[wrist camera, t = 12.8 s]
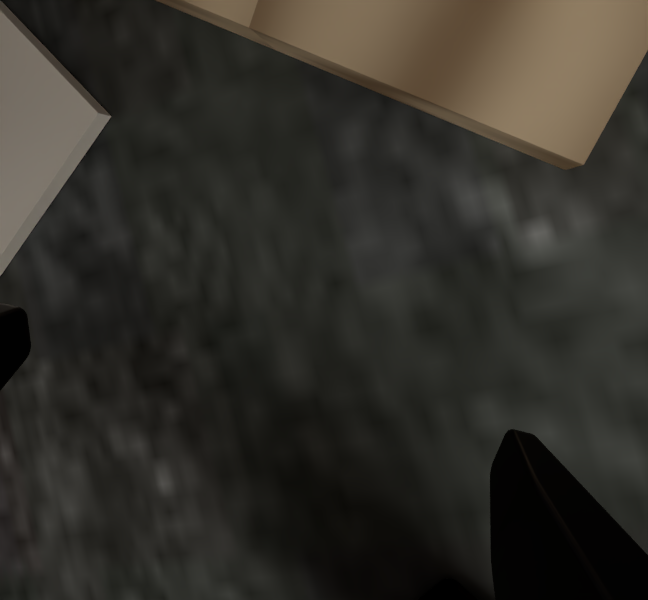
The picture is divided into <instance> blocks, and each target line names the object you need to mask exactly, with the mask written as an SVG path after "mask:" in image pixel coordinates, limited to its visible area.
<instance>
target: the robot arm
mask: <svg viewBox="0 0 648 600" xmlns="http://www.w3.org/2000/svg"><path fill="white" fill-rule="evenodd" d="M30 349H31V341H30V333H29V326H28V318H27V314H26V312H25V311H24V310H23V309H22V308H20V307H16V306H12V305H8V304H0V390H1V389H2V388H3V387H4V386H5V384H6V383H7V382H8V381H9V379H10V378H11V377H12V376H13V375H14V373H15V372H16V371H17V370H18V368H19V367H20V366H21V365H22V364H23V362H24V361H25V360H26V358H27V357H28V355H29V353H30ZM490 525H491V565H492V575H493V583H494V591H495V599H496V600H648V555H647V554H646V553H645V552H644V551H643V550H642V548H641V547H640V546H639V545H638V544H637V543H636V542H635V541H634V540H633V539H632V538H631V537H630V536H629V535H628V534H627V533H626V531H625V530H624V529H623V528H622V527H621V526H620V525H619V524H618V523H617V522H616V521H615V520H614V519H613V518H612V517H611V516H610V515H609V513H608V512H607V511H606V510H605V509H604V508H603V507H602V506H601V505H600V504H599V503H598V502H597V501H596V500H595V499H594V498H593V496H592V495H591V494H590V493H589V492H588V491H587V490H586V489H585V488H584V487H583V486H582V485H581V484H580V483H579V482H578V481H577V480H576V478H575V477H574V476H573V475H572V474H571V473H570V472H569V471H568V470H567V469H566V468H565V467H564V466H563V465H562V464H561V463H560V461H559V460H558V459H557V458H556V457H555V456H554V455H553V454H552V453H551V452H550V451H549V450H548V449H547V448H546V447H545V446H544V445H543V443H542V442H541V441H540V440H539V439H538V438H537V437H536V436H535V435H533V434H530V433H526V432H522V431H518V430H514V429H511V430H508V431H507V433H506V434H505V436H504V438H503V440H502V443H501V445H500V447H499V449H498V452H497V454H496V456H495V459H494V461H493V463H492V467H491V472H490ZM446 591H452V592H454V594H448V593H446ZM418 600H478V599H477V598H475V597H474V596H473V595H472V594H471V593H470V592H469V591H467V590H466V589H465V588H464V587H463V586H462V585H461V584H460V583H458V582H457V581H455V580H453V579H443V580H441V581H440V582H439V583H438V584H436V585H435V586H434V587H433V588H432V589H430V590H429V591H428V592H427V593H425V594H424V595H423V596H422V597H421V598H419V599H418Z"/></svg>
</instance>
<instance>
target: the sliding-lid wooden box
mask: <svg viewBox="0 0 648 600" xmlns="http://www.w3.org/2000/svg"><path fill="white" fill-rule="evenodd" d="M156 1H158V2H161V3H163V4H165V5H168V6H170V7H173V8H175V9H177V10H180V11H182V12H185V13H187V14H189V15H192V16H194V17H197V18H199V19H202V20H204V21H206V22H209V23H211V24H214V25H216V26H218V27H221V28H223V29H226V30H228V31H231V32H233V33H235V34H238V35H240V36H243V37H245V38H247V39H250V40H252V41H255V42H257V43H260V44H262V45H264V46H267V47H269V48H272V49H274V50H276V51H279V52H281V53H284V54H286V55H289V56H291V57H293V58H296V59H298V60H301V61H303V62H305V63H308V64H310V65H313V66H315V67H317V68H320V69H322V70H325V71H327V72H330V73H332V74H334V75H337V76H339V77H342V78H344V79H346V80H349V81H351V82H354V83H356V84H359V85H361V86H363V87H366V88H368V89H371V90H373V91H375V92H378V93H380V94H383V95H385V96H388V97H390V98H392V99H395V100H397V101H400V102H402V103H404V104H407V105H409V106H412V107H414V108H417V109H419V110H421V111H424V112H426V113H429V114H431V115H433V116H436V117H438V118H441V119H443V120H445V121H448V122H450V123H453V124H455V125H458V126H460V127H462V128H465V129H467V130H470V131H472V132H474V133H477V134H479V135H482V136H484V137H487V138H489V139H491V140H494V141H496V142H499V143H501V144H503V145H506V146H508V147H511V148H513V149H516V150H518V151H520V152H523V153H525V154H528V155H530V156H532V157H535V158H537V159H540V160H542V161H545V162H547V163H549V164H552V165H554V166H557V167H559V168H561V169H564V170H566V169H570V168H574V167H577V166H581V165H584V163H585V161H586V160H587V158H588V156H589V154H590V152H591V151H592V149H593V147H594V145H595V143H596V142H597V140H598V138H599V136H600V134H601V133H602V131H603V129H604V127H605V126H606V124H607V122H608V120H609V118H610V117H611V115H612V113H613V111H614V109H615V108H616V106H617V104H618V102H619V100H620V99H621V97H622V95H623V93H624V91H625V90H626V88H627V86H628V84H629V82H630V81H631V79H632V77H633V75H634V74H635V72H636V70H637V68H638V66H639V65H640V63H641V61H642V59H643V57H644V56H645V54H646V52H647V50H648V0H156Z"/></svg>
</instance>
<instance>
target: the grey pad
mask: <svg viewBox="0 0 648 600" xmlns="http://www.w3.org/2000/svg"><path fill="white" fill-rule="evenodd" d="M110 118H111V115H110V114H109V113H108V112H107V111H106V110H105V109H104V108H103V107H102V106H101V105H100V104H99V103H98V102H97V101H96V100H95V99H94V98H93V97H92V96H91V94H90V93H89V92H88V91H87V90H86V89H85V88H84V87H83V86H82V85H81V84H80V83H79V82H78V81H77V80H76V79H75V78H74V77H73V76H72V75H71V74H70V72H69V71H68V70H67V69H66V68H65V67H64V66H63V65H62V64H61V63H60V62H59V61H58V60H57V59H56V58H55V57H54V56H53V55H52V54H51V53H50V51H49V50H48V49H47V48H46V47H45V46H44V45H43V44H42V43H41V42H40V41H39V40H38V39H37V38H36V37H35V36H34V35H33V34H32V33H31V32H30V31H29V29H28V28H27V27H26V26H25V25H24V24H23V23H22V22H21V21H20V20H19V19H18V18H17V17H16V16H15V15H14V14H13V13H12V12H11V11H10V10H9V9H8V7H7V6H6V5H5V4H4V3H3V2H2V1H1V0H0V276H1V275H2V273H3V272H4V270H5V269H6V267H7V266H8V265H9V263H10V262H11V260H12V259H13V257H14V256H15V254H16V253H17V252H18V250H19V249H20V247H21V246H22V244H23V243H24V242H25V240H26V239H27V237H28V236H29V234H30V233H31V231H32V230H33V229H34V227H35V226H36V224H37V223H38V221H39V220H40V219H41V217H42V216H43V214H44V213H45V211H46V210H47V208H48V207H49V206H50V204H51V203H52V201H53V200H54V198H55V197H56V195H57V194H58V193H59V191H60V190H61V188H62V187H63V185H64V184H65V183H66V181H67V180H68V178H69V177H70V175H71V174H72V172H73V171H74V170H75V168H76V167H77V165H78V164H79V162H80V161H81V159H82V158H83V157H84V155H85V154H86V152H87V151H88V149H89V148H90V147H91V145H92V144H93V142H94V141H95V139H96V138H97V136H98V135H99V134H100V132H101V131H102V129H103V128H104V126H105V125H106V124H107V122H108V121H109V119H110Z"/></svg>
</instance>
